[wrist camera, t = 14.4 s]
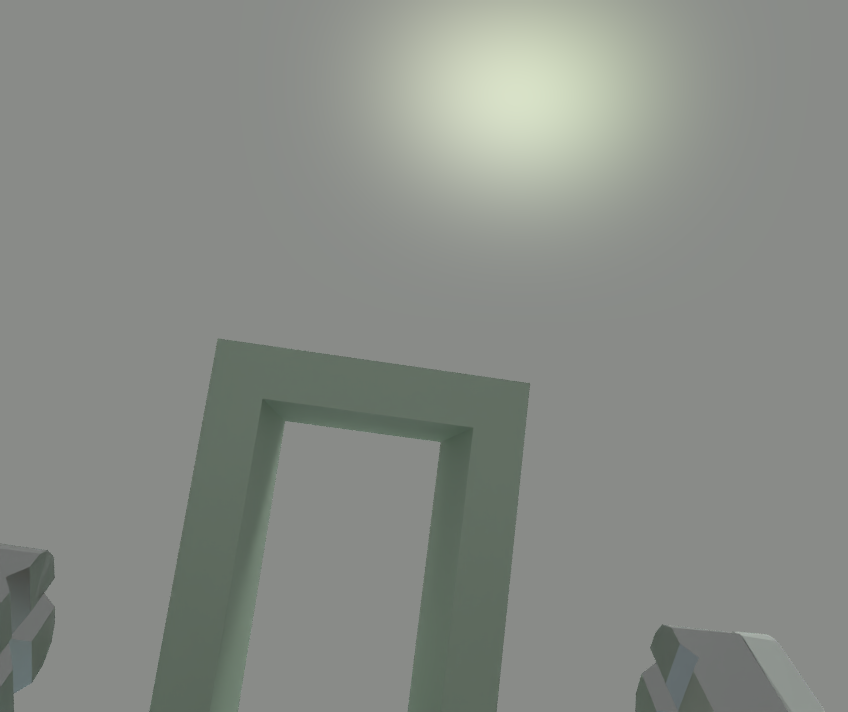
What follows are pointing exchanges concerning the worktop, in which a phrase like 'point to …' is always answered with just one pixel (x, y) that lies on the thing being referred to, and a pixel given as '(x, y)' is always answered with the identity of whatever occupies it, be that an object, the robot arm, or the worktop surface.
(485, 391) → the bridge
